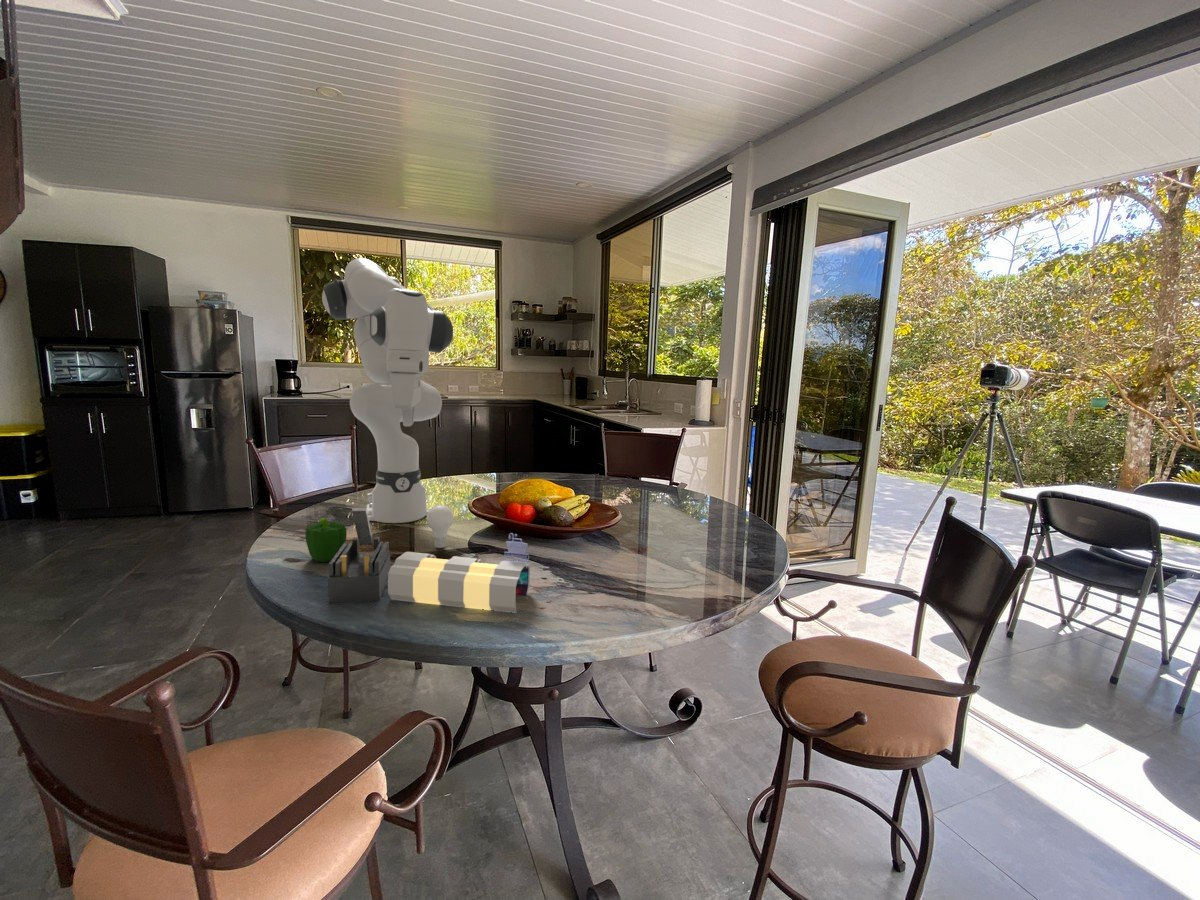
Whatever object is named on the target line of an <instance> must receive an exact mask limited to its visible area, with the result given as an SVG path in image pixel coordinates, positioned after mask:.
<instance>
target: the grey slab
mask: <svg viewBox="0 0 1200 900" xmlns="http://www.w3.org/2000/svg"><path fill="white" fill-rule="evenodd" d="M366 508H367V507H352V508H351V513H352V519H353V522H354V527H355V531H356V535H357V536H356V537H358V540H359V546H374V538H373V535H372V529H371V525H370V521H369V519H368V514H367V509H366Z"/></svg>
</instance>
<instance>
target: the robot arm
mask: <svg viewBox="0 0 1200 900" xmlns="http://www.w3.org/2000/svg"><path fill="white" fill-rule="evenodd" d="M321 300H322V301H321V302H322V304H323V307H324V309H325V310H326V312H327V313H328V314H329V316H330V317H331V318H333V319H334V320H339V321H340V320H343V321H345V320H347V319H352V320H353V319H357V320H356V321H355V323H354V324H353V325H354V326H353V334H354V335H353V336H354V340H355V345H356V348H357V352H358V354H359V359H360V360H361V364H362V365H363V366H362V367H363V369H364V372H365V374H366V376H367V377H368V378H369V380H371V381H373V382H374V383H373V382H372V383H367V384H362V385H358V386H356V387H355V388H354V389H353V391H352V392H351V394H350V398H349V408H350V410H351V413H352V414H353V415H354V417H355V418H356V419H357V420H358V421H360V422H361V423H363V424H364V425H365V426H366V427H367V428H368V430H369V431H370V432H371V434H372V436H373V438H374V441H375V445H376V452H377V470H376V473H375V481H376V484H375V486H374V488H373V490H372V491H371V492H368V493H367V502H370V503H368V504H367V505H366V507H365V508H366V509H367V514H368V519H369V522H371V521H372V522H378V523H387V524H397V523H398V524H400V523H402V524H404V523H410V522H415V521H418V520H422V519H423V518H425V517H427V513H428V511H429V510H430V509H431V508H428V507H427V495H426V492H427V491H426V487H425V486H424V485H422V483H421V475H422V473H421V469H420V468H419V467H420V466H419V463H420V462H419V458H420V456H419V454H420V452H419V449H420V448H419V444H418V442H417V440H416V439H415V438H413V437H412V436H410V435H409V434H406V433H404V432H403V430H402V428H401V423H402V425H403V426H404V427H411V426H413V424H414V422H423V421H428V420H430V419H434V418H436V417H438V416H439V414H440V413H441V410H442V406H443V400H442V399H443V398H442V395H441V394H440V391H439V390H438V389H437V388H436V387H435V386H432V385H430V384H429V383H427V382H425V381H424V373H429V372H430V352H432V353H438V354H439V353H440V354H441V352H443V351H444V350H445V349H446V348H447V347H449V346H450V344H451V343H452V341H453V337H454V328H453V327H454V326H453V323H452V320H451V319H450V318H449V316H448V315H447V314H446V313H445V312H444V311H443V310H436V309H434V308H433V307H432V306H431V305H430V304H429V303H428V301H427V297H426V294H424V293H422V292H421V291H418V290H412V289H408V288H407V287H405V286H404V285H402V284H401V283H400V281H399V280H398V278H396V277H394V276H389V274H387V271H385V270H384V269H383V268H382V267H381V266H380V265H378V264H377V263H376V262H374V261H372V260H370V259H368V258H364V257H362V258H361V257H359V258H354V259H352V260H350V261H349V262H348V263H347V265H346V267H345V270H344V279H337V278H335V279H333V281H330V282H328V283H326V284H325V286H323V288H322V294H321Z"/></svg>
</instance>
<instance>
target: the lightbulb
mask: <svg viewBox="0 0 1200 900" xmlns="http://www.w3.org/2000/svg"><path fill="white" fill-rule="evenodd" d="M429 509H430V510H429V511H428V513H427V516H426V522H427V525H428V526H429V528H430V530H431V532H432V535H433V537H434V538H433V539H434V543H433V544H434V547H435V548H437V549H439V550H441V549H443V548H445V547H446V544H447V543H446V539H447V535H448V531H449V529H450V528H451V527H452V524H453V522H454V512H453V510H452V509H451V507H448V506H447V505H444V504H435V505H434V506H432V507H431V508H429Z"/></svg>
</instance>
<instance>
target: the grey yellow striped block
mask: <svg viewBox="0 0 1200 900" xmlns="http://www.w3.org/2000/svg"><path fill="white" fill-rule="evenodd" d="M517 537H518V534H517V533H515V534H514V533H513V532H510V533H509V534H508V540H506V541H505V544H506V546H507V547H506V548H507V551H503V552H504V554H503V555H504V556H503V557H505V558H504V559H503V560H501V561H500V562H499V564H496V563H495V564H493V563H486V562H485V563H484V562H483V560H482V559H481V558H480V559H478V558H477V557H467V556H465V557H464V556H456V555H454V556H452V557H451V558H449V559H445V558H444V559H443V558H437V556H436V555H435V554H431V553H426V552H425V553H424V552H416V551H415V552H414V551H405V552H404V553H402V554H401V555H400V556H398V557H397V558H395V560H394V564H393V565H390V570H389V572H388V581H387V594H388V596H389V597H390V600H391V601H401V602H409V603H419V604H429V605H438V606H447V607H455V608H456V607H457V608H464V609H465V608H466V609H472V610H473V609H474V610H482V609H484V611H491V610H494V612H501V611H502V612H501V613H511V612H512V613H511V614H517V607H516V599H517V598H516V596H518V595H519V596H528V595H529V589H530V580H531V579H530V578H531V577H530V576H531V574H530V573H531V566H530V563H529V562H530V560H529V559H530V556H529V555H530V554H529V553H526V552H527V548H528V545H529V544H528V543H526V542H523V539H522V538H517ZM511 539H512V540H511ZM510 540H511V541H510ZM515 540H518V541H515ZM527 555H528V558H527V557H526V556H527ZM510 558H511V559H512V558H513V559H512V560H510ZM517 559H518V560H517Z"/></svg>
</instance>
